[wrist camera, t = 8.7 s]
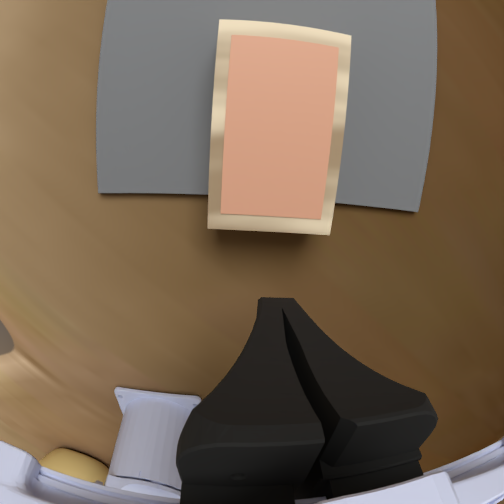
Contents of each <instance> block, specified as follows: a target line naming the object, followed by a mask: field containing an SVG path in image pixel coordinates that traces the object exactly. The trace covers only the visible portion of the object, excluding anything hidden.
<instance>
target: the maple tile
mask: <svg viewBox="0 0 504 504" xmlns="http://www.w3.org/2000/svg"><path fill="white" fill-rule="evenodd" d="M350 56H351V35H346V34H342V33H337V32H332V31H327V30H322V29H316V28H310V27H304V26H297V25H290V24H282V23H273V22H262V21H248V20H225V19H219V29H218V39H217V51H216V63H215V75H214V89H213V105H212V121H211V140H210V162H209V190H208V229H226V230H247V231H267V232H285V233H303V234H319V235H330V230H331V224H332V218H333V212H334V205H335V199H336V192H337V185H338V178H339V171H340V163H341V155H342V147H343V138H344V129H345V119H346V109H347V98H348V85H349V72H350Z"/></svg>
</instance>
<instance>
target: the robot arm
mask: <svg viewBox="0 0 504 504" xmlns="http://www.w3.org/2000/svg"><path fill="white" fill-rule="evenodd" d="M114 392H115V395H116V398H117V400H118V403H119V406H120V408H121V411H122V413H123V419H122V422H121V426H120V430H119V433H118V437H117V441H116V444H115V448H114V452H113V456H112V460H111V464H110V468H109V472H108V475H107V478H106V481H105V483H104V485H103V482H101V481H99V480H96V481H95V482H93V483H92V482H89V481H85V480H82V479H78V478H75V477H72V476H69V475H66V474H63V473H60V472H57V471H54V470H51V469H49V468H46V467H43V466H41V465H40V463H39V462H38V461H37V460H36V458H34V457H33V456H32V455H31V454H29V453H28V452H26V451H24V450H22V449H20V448H17V447H15V446H13V445H11V444H8V443H6V442H4V441H0V504H496V503H498V502H499V501H501V500H503V499H504V437H503V438H502V440H500V441H498V442H496V443H494V444H492V445H490V446H488V447H486V448H484V449H482V450H480V451H478V452H475V453H473V454H471V455H469V456H467V457H464V458H462V459H459V460H457V461H455V462H452V463H450V464H447V465H444V466H442V467H439V468H436V469H434V470H431V471H428V472H425V473H423V472H422V469H421V467H420V464H419V462H418V460H420V459H421V457H422V455H421V453H420V450H419V447H420V446H421V445H422V444H423V442H424V441H425V440H426V439H427V438H428V436H429V435H430V434H431V433H432V431H433V430H434V428H435V426H436V424H437V420H438V417H437V414H436V412H435V410H434V408H433V406H432V405H431V403H430V401H429V399H428V397H427V396H426V394H425V393H422V392H420V391H417V390H414V389H412V388H409V387H406V386H404V385H401V384H399V383H397V382H395V381H392V380H390V379H388V378H386V377H384V376H382V375H381V374H379V373H377V372H375V371H373V370H372V369H370V368H369V367H367V366H365V365H364V364H362V363H361V362H359V361H358V360H356V359H355V358H353V357H352V356H351V355H349V354H348V353H347V352H345V351H344V350H343V349H342V348H340V347H339V346H338V345H337V344H336V343H335V342H334V341H332V340H331V339H330V338H329V337H328V336H327V335H326V334H325V333H324V332H323V331H322V330H321V329H320V328H319V327H318V326H317V325H316V324H315V323H314V322H313V320H312V319H311V318H310V317H309V316H308V315H307V314H306V312H305V311H304V310H303V309H302V308H301V306H300V305H299V304H298V303H297V302H296V301H295V299H294V298H266V297H261V298H260V299H259V300H258V307H257V318H256V321H255V324H254V327H253V330H252V332H251V334H250V337H249V339H248V341H247V343H246V345H245V347H244V349H243V351H242V353H241V354H240V356H239V357H238V359H237V361H236V362H235V364H234V365H233V367H232V368H231V369H230V371H229V372H228V373H227V375H226V376H225V377H224V378H223V380H222V381H221V382H220V383H219V384H218V385H217V386H216V387H215V389H214V390H213V391H212V392H211V393H210V394H209V395H208V396H207V397H206V398H205V399H203V400H202V401H201V398H200V397H198V396H192V395H180V394H169V393H160V392H151V391H143V390H136V389H129V388H122V387H116V388H115V390H114Z"/></svg>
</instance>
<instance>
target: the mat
mask: <svg viewBox="0 0 504 504" xmlns="http://www.w3.org/2000/svg"><path fill="white" fill-rule="evenodd" d="M219 19H225V20H248V21H262V22H273V23H282V24H290V25H297V26H304V27H310V28H316V29H322V30H327V31H332V32H337V33H342V34H346V35H351V56H350V72H349V85H348V98H347V109H346V119H345V129H344V138H343V147H342V155H341V163H340V171H339V178H338V185H337V192H336V199H335V203H342V204H353V205H362V206H372V207H381V208H390V209H398V210H406V211H414V212H418V210H419V205H420V200H421V195H422V190H423V185H424V179H425V174H426V168H427V162H428V155H429V149H430V141H431V133H432V125H433V115H434V105H435V91H436V73H437V19H436V1H435V0H108V1H107V7H106V13H105V19H104V26H103V33H102V41H101V50H100V60H99V72H98V87H97V112H96V154H97V180H98V193H171V194H205V195H208V190H209V162H210V140H211V121H212V105H213V89H214V75H215V63H216V51H217V39H218V29H219Z"/></svg>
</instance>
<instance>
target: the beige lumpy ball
mask: <svg viewBox="0 0 504 504" xmlns="http://www.w3.org/2000/svg"><path fill="white" fill-rule="evenodd" d="M38 462H39V463H40V465H41V466H43V467H46V468H49V469H51V470H54V471H57V472H60V473H63V474H66V475H69V476H72V477H75V478H78V479H82V480H85V481H89V482H92V483H93V482H95V481H96V480H99V481H101V482H103V485H104V483H105V481H106V478H107V475H108V472H109V469H108V468H107V467H106V466H105V465H104V464H102V463H101V462H99V461H97V460H95V459H93V458H91V457H89V456H87V455H84V454H81V453H78V452H76V451H73V450H69V449H66V448H58V449H55V450H53V451H52V452H50V453H49V454H47V455H46V456H45V457H44V458H43V459H41V460H39V461H38Z"/></svg>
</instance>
